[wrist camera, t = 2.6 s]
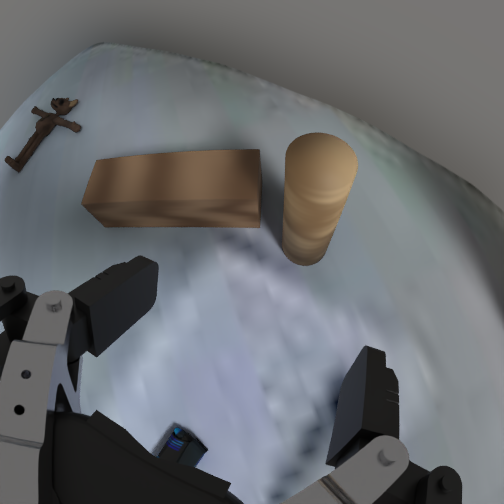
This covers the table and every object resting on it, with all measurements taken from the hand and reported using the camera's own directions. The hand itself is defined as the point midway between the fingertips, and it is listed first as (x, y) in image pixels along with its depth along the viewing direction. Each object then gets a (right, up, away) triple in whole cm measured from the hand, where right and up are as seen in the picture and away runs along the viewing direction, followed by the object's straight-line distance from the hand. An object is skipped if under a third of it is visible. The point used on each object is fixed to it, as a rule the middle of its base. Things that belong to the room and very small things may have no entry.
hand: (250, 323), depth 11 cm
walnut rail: (-7, +7, +19) cm, 21 cm away
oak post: (+5, +3, +16) cm, 17 cm away
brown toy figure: (-32, +21, +27) cm, 46 cm away
